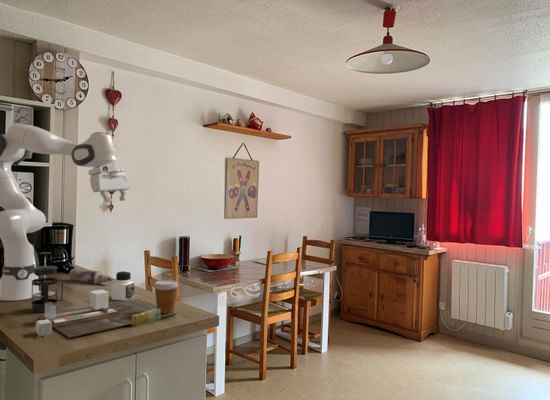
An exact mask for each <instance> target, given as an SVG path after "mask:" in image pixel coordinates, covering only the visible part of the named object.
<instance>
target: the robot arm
mask: <svg viewBox="0 0 550 400" xmlns="http://www.w3.org/2000/svg"><path fill="white" fill-rule="evenodd" d="M30 152H32V153H36V154H40V155H41V154H43V155H60V156H61V155H62V156H63V155H64V156H69V157H71V160H72V162H73V163H74V164H75V165H76V166H79V167H84V168H92V169H89V170H88V171H87V172H88V175H89V176H90V177H89V183H90V187H91V190H92V192H93V193H100V196H101V197H102V198H103V200H104V203H110V202H111V198H110V197H109V196H108V192H119V193H120V196H119V201H120V202H123V201H126V192H127V190H131V182H130V178H129V175H128V174H127V172H126V171H125V170H124V169H121V168H120V165H119V159H118V158H117V156H116V153H117V151H116V146H115V143H114V139H113V138H112V135H111V134H110V133H107V132H103V131H102V132H101V131H98V132H93V133H91V134H90V135H89V137H88V138H87V139H85V141H83V142H82V143H77V142H74V141H71V140H68V139H66V138H63V137H61V136H58V135H57V134H54V133H52V132H51V131H48V130H45V129H43V128H40V127H39V126H35V125H31V124H27V123H26V124H25V123H13V124H12V125H10V126H9V128H7V132H6V133H5V134H1V133H0V207H1V208H2V209H4V210H1V211H0V239H1V243H2V245H3V251H4V252H3V255H4V261H3V263H4V265H3V266H2V276H1V277H0V301H5V302H6V301H7V302H10V301H23V300H28V299H29V300H30V299H33V298H32V280H34V279H39V275H37V274H36V273H35V271H34V270H32V268H34V267H35V265H36V264H35V263H34V261H35V257H34V256H35V255H34V254H35V248H34V246H33V244H32V243H30V242H29V240H28V237H27V234H29V233H35V232H37V231H39V230H41V229H43V228H44V227H45V225H46V221H47V219H46V216H45V213H43V212H42V211H41V209H38V208H37V207H35V206H34V205H33V204H32V202H30V201H29V200H28V199H29V198H27V197H26V195H24V193H23V192H22V189H21V188H20V186H19V183H18V182H17V180H16V177H15V176H14V174H13V171H12V166H13V167H17V166H18V165H20V163H21V162H24V160H26V159H27V158H28V156H29V154H30ZM38 292H41V290H39V286H35V285H33V294H34V293H38Z"/></svg>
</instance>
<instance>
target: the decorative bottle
mask: <svg viewBox="0 0 550 400" xmlns="http://www.w3.org/2000/svg"><path fill="white" fill-rule="evenodd" d="M68 276H69V279H70V280H71V281H75V282H82V283H88V282H89V284H93V285H99V283H100V284H101V283H107V282H112V281H114V280H113V278H112V277H111V276H108V275H106V274H104V273H103V272H102V271H96V270H93V269H92V270H91V269H85V268H78V267H75V268H72V269H71V270H70V272H69V273H68Z"/></svg>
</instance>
